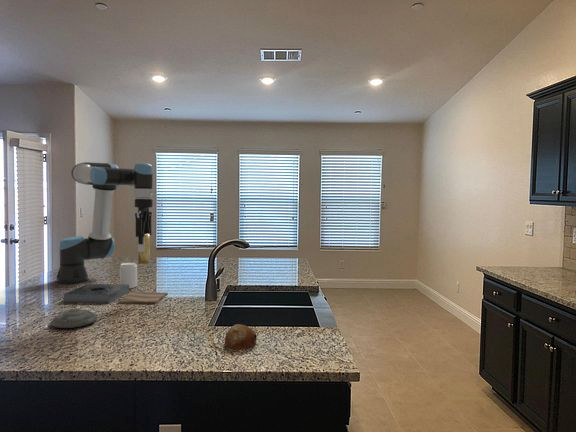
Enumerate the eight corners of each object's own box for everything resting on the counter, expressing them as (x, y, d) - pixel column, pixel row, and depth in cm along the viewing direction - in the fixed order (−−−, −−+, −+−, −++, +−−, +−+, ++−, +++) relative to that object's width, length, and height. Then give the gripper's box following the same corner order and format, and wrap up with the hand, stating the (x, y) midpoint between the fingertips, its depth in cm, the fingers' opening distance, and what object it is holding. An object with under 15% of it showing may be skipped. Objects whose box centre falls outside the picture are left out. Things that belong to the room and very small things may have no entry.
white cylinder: (131, 289, 195) (130, 265, 194) (116, 288, 197) (116, 264, 196) (140, 286, 203) (140, 262, 202) (126, 285, 205) (126, 262, 204)
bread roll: (231, 348, 132) (220, 327, 131) (259, 335, 132) (249, 314, 132) (229, 361, 122) (218, 338, 121) (259, 346, 122) (248, 324, 122)
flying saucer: (64, 334, 133) (64, 318, 133) (41, 326, 141) (41, 310, 141) (105, 322, 146) (105, 307, 146) (82, 315, 154) (82, 301, 154)
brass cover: (140, 261, 180) (140, 233, 179) (151, 262, 180) (151, 233, 179) (136, 263, 175) (136, 234, 174) (147, 263, 175) (147, 234, 174)
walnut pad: (133, 294, 187) (133, 291, 187) (167, 294, 186) (167, 292, 186) (118, 303, 171) (118, 301, 171) (155, 304, 170) (155, 301, 170)
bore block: (87, 291, 191) (87, 283, 191) (128, 291, 191) (128, 284, 191) (63, 302, 171) (63, 294, 171) (109, 303, 171) (109, 295, 171)
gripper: (144, 198, 167) (144, 253, 168) (158, 198, 185) (159, 248, 186) (126, 198, 167) (127, 253, 168) (143, 198, 185) (143, 247, 186)
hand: (143, 250), depth 177 cm, fingers closed on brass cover, 5 cm apart
